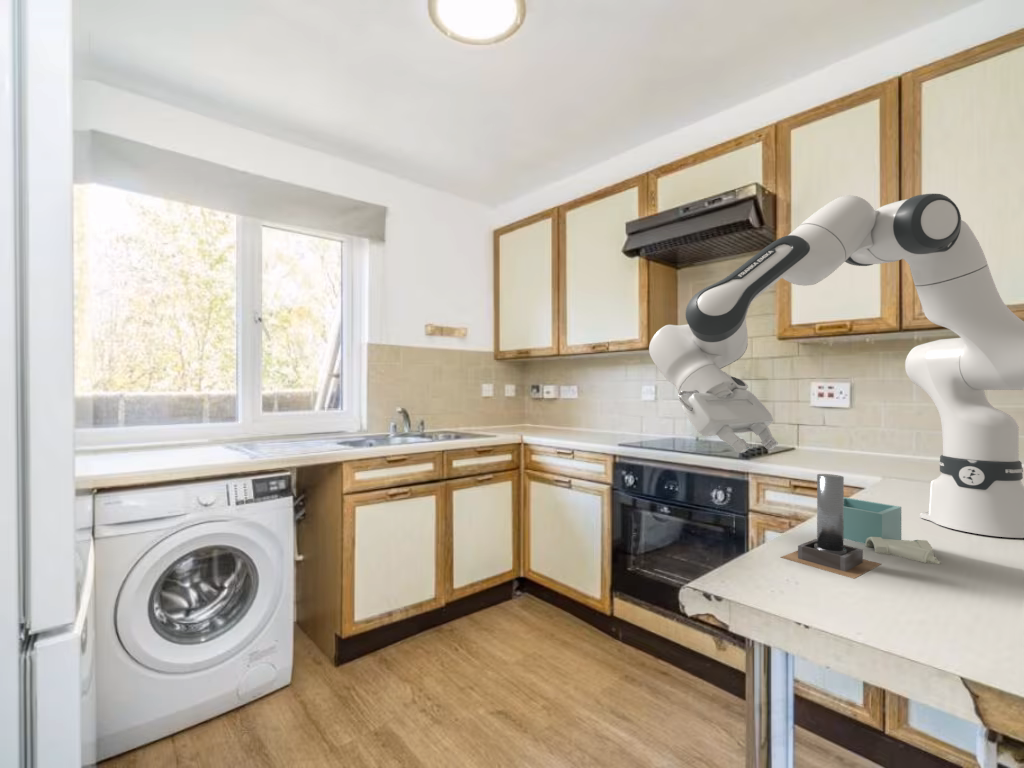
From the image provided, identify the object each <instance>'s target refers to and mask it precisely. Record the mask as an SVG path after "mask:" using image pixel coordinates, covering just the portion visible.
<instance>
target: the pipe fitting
mask: <svg viewBox="0 0 1024 768" xmlns="http://www.w3.org/2000/svg"><path fill="white" fill-rule="evenodd" d="M864 544H865V547H867V548H874V553H875V554H887V555H892V556H895V557H900V558H904V559H906V560H907V559H908V560H911V561H917V562H919V563H924V564H927V563H929V564H933V565H934V564H936V565H940V564H941V563H942V561H940V560H938V557H936V556H934V555H935V554H934V549H933V547H932V545H931V544H930V542H929V541H928V540H925V539H915V540H906V539H901V540H895V539H882V538H881V537H868V538H867V539H866V543H864Z"/></svg>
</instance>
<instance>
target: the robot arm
mask: <svg viewBox="0 0 1024 768" xmlns="http://www.w3.org/2000/svg"><path fill="white" fill-rule="evenodd" d="M900 260H904V261H905V263H907V264H908V265H909V270H910V273H911V277H912V278H911V279H912V281H913V284H914V287H915V290H916V293H917V296H918V299H919V301H920V305H921V308H922V311H923V313H924V314H923V315H924V316H925V317H926V319H928V321H929V322H931V323H932V324H934V325H936V326H939V327H943V328H946V329H948V330H950V331H952V332H953V333H954V334H956V335H958V337H955V338H954V337H953V338H942V339H941V338H940V339H936V340H933V341H929V342H925V343H922V344H918V345H916V346H914V347H913V348H911V350H910V351H909V352H908V354H907V355H906V358H905V361H904V368H905V369H904V370H905V373H906V375H907V377H908V379H909V380H910V381H911V382H912V383H913V384H914V385H916V386H918V387H919V388H920V389H921V390H923V392H925V393H926V394H927V395H928V396H929V398H930V399H931V401H932V402H933V404H934V405H935V408H936V410H937V412H938V415H939V419H940V422H941V423H940V424H941V435H942V436H941V437H942V454H941V455H940V457H939V461H938V466H939V472H940V475H939V476H938V477H937V478H936V477H935V478H934V479H933V480H931V481H930V489H929V506H928V510H927V511H922V512H920V513H919V518H921V519H923V520H928V521H930V522H932V523H934V524H937V525H939V526H942V527H944V528H948V529H953V530H956V531H961V532H967V533H972V534H976V535H977V534H978V535H984V536H990V537H998V538H999V537H1000V538H1001V537H1002V538H1012V539H1014V538H1015V539H1024V485H1023V483H1022V481H1021V480H1023V479H1024V477H1023V475H1024V474H1023V473H1024V468H1023V465H1022V464H1023V463H1022V461H1020V458H1019V457H1020V456H1019V455H1020V454H1019V452H1020V450H1019V449H1020V446H1019V443H1020V441H1019V439H1020V438H1019V437H1020V436H1019V430H1020V429H1019V428H1020V427H1019V424H1018V423H1017V421H1016V419H1015V418H1014V417H1013V416H1011V415H1010V414H1008V413H1007V412H1006V411H1003V410H1000V409H998V408H995V407H994V406H993V405H992V404H991V403H990V401H988V399H987V397H986V393H985V391H987V390H988V391H992V390H993V391H996V390H997V391H1023V390H1024V320H1023V319H1021V318H1020V317H1018V316H1017V315H1016V314H1015V313H1014V312H1013V311H1012V310H1010V308H1009V307H1008V305H1006V303H1005V302H1004V300H1003V299H1002V298H1001V296H1000V293H999V290H998V288H997V287H996V284H995V281H994V279H993V276H992V273H991V270H990V267H989V264H988V261H987V259H986V255H985V253H984V251H983V248H982V246H981V245H980V242H979V240H978V239H977V236H976V235H975V234H974V232H973V230H972V229H971V227H970V226H969V224H968V223H966V222H965V221H964V220H962V215H961V212H960V209H959V208H958V205H957V204H956V203H955V202H954V201H953V200H952V199H951V198H949V196H946V195H944V194H942V193H925V194H918V195H914V196H912V197H909V198H906V199H902V200H898V201H894V202H891V203H888V204H885V205H882V206H879V207H878V208H877V209H874V207H873V205H871V203H870V202H869V201H867V200H866V199H864V198H863V197H860V196H856V195H851V194H849V195H841V196H838V197H836V198H834V199H833V200H831V201H830V202H827V203H826V204H824V205H823V206H822V207H821V208H818V210H816V211H815V212H814V213H812V214H811V215H810V216H809V217H807V218H806V219H804V221H802V222H801V223H800V224H799V225H798V226H797V227H796V228H795V229H793V230H792V231H791V232H790V233H789V234H788V235H784V236H782V237H779V238H778V239H776V240H773V242H771V243H770V244H768V245H767V246H765V247H764V248H762V250H760V251H758V252H757V253H756V254H754V256H752V257H751V258H750V259H748V260H747V261H746V262H744V263H743V264H741V266H739V267H738V268H737V269H735V270H734V271H733V272H731V273H730V274H728V275H727V276H726V277H725V278H723V279H721V280H719V281H717V282H715V283H713V284H711V285H709V286H706V287H704V288H702V289H701V290H699V291H698V292H697V293H695V294H694V295H693V296H692V297H691V298H690V300H689V301H688V303H687V306H686V309H685V320H686V323H687V324H681V325H680V324H679V325H677V324H666V325H664V326H662V327H661V328H659V329H658V330H657V331H656V333H654V335H653V336H652V337H651V339H650V342H649V347H648V352H649V356H650V358H651V360H652V361H653V363H654V365H655V366H656V368H657V369H658V371H660V373H661V375H662V376H663V377H664V378H665V379H666V380H667V381H668V382H670V383H671V384H672V385H674V387H675V388H676V391H677V393H678V398H677V399H678V401H679V402H680V403H681V404H682V406H681V407H682V412H683V414H684V415H685V416H686V418H687V419H688V420H689V421H688V422H690V424H691V425H692V426H693V428H694V429H695V431H696V432H697V433H699V434H700V435H701V436H704V437H711V436H713V437H714V436H718V438H719V439H720V440H721V441H722V442H724V443H726V444H728V445H729V446H731V447H732V449H734V451H735V452H736V453H737V454H742V453H745V452H747V451H748V450H749V448H750V445H749V443H747V441H746V440H745V439H744V438H740V437H739V436H738V435H737V434H746V433H747V434H748V433H753V434H754V435H755V436H758V437H759V439H760V440H761V442H760V443H761V445H762V446H764V448H765V449H766V450H772V449H775V447H777V445H778V443H779V442H778V441H777V440H776V438H775V437H773V435H772V433H771V429H770V428H769V426H770V425H771V424H772V423H773V422H774V417H773V415H772V413H771V411H769V410H768V409H767V407H766V406H765V405H764V403H762V401H760V399H759V397H757V396H756V395H755V394H754V393H752V392H751V391H750V390H747V389H748V388H749V386H748V383H746V382H745V381H744V380H743V379H740V378H737V377H736V376H735V377H734V376H732V375H731V374H729V373H728V372H726V371H723V370H722V369H723V368H725V367H728V366H729V365H731V364H733V363H735V362H736V361H738V360H739V359H741V357H743V355H745V353H746V352H747V349H748V345H749V337H748V336H749V335H748V327H747V316H748V312H749V308H750V306H751V304H752V303H753V302H754V301H755V300H756V299H757V298H758V297H759V296H761V295H762V294H764V292H766V291H767V290H769V289H770V288H771V287H773V285H775V284H776V283H777V282H779V281H780V280H781V279H782V280H784V281H787V282H788V283H791V284H793V285H796V286H803V287H805V286H813V285H817V284H818V283H820V282H822V281H823V280H824V279H826V278H828V277H829V276H831V275H832V274H833V273H834V272H835V271H837V269H838V268H839V267H841V265H842V264H844V263H847V264H848V265H851V266H856V267H857V266H858V267H869V266H873V265H880V264H887V263H888V264H889V263H894V262H899V261H900Z"/></svg>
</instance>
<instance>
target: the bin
mask: <svg viewBox="0 0 1024 768" xmlns="http://www.w3.org/2000/svg"><path fill="white" fill-rule="evenodd" d="M868 537H881V538H882V539H895V540H902V506H898V505H892V504H886V503H880V502H875V501H868V500H862V499H858V498H851V497H845V496H844V540H847V541H852V542H858V543H861V544H865V543H866V539H867V538H868Z"/></svg>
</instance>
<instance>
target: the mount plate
mask: <svg viewBox="0 0 1024 768" xmlns="http://www.w3.org/2000/svg"><path fill="white" fill-rule="evenodd" d="M816 543H817V538H814V539H812V540H808V541H807V542H806V541H805V542H803V543H801V544H799V545H797V550H795V551H793V552H790V553H787V554H785V555H783V556H780V558H781V559H784V560H787V561H791V562H795V563H797V564H802V565H805V566H809V567H812V568H814V569H818V570H823V571H826V572H829V573H832V574H836V575H840V576H842V577H843V576H844V577H847V578H851V579H857V578H859V577H861V576H862V575H865V574H866V573H868V572H870V571H872V570H873V569H875V568H877V567H879V566H880V565H881V566H882V563H880V562H876V561H871V560H869V559H864V552H863V550H864V549H863V548H859V547H854V546H851V545H847V544H844V548H845V549H847V554H845V555H843V556H841V555H837V554H834V553H830V552H826V551H822V550H818V549H814V544H816Z"/></svg>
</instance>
